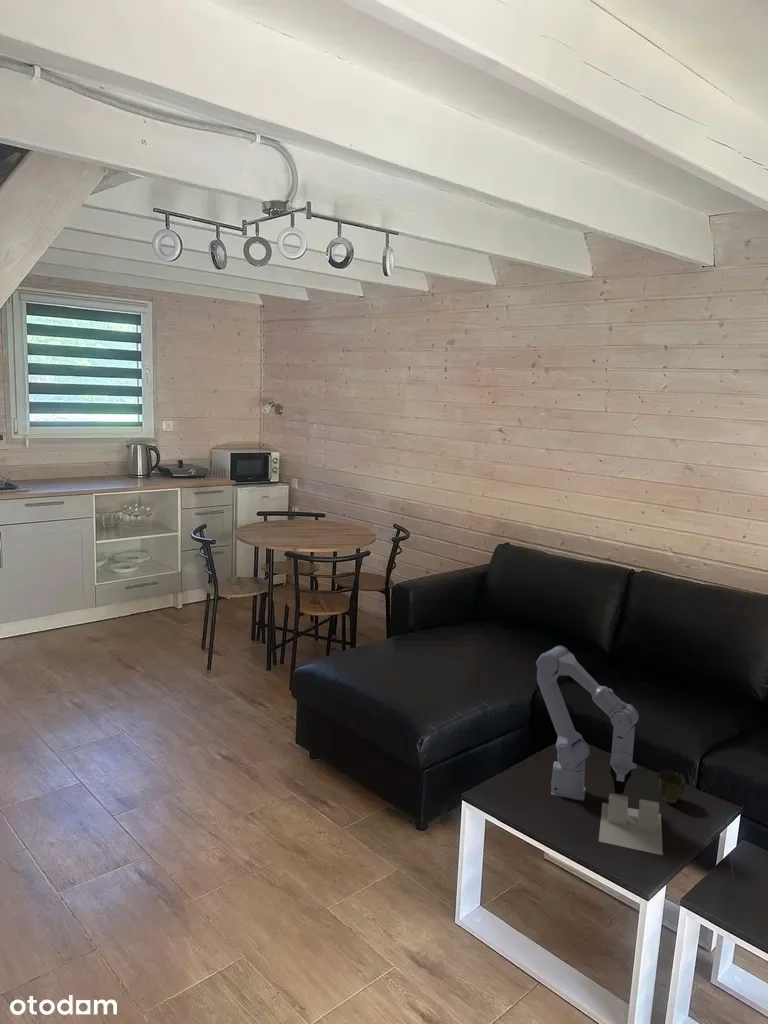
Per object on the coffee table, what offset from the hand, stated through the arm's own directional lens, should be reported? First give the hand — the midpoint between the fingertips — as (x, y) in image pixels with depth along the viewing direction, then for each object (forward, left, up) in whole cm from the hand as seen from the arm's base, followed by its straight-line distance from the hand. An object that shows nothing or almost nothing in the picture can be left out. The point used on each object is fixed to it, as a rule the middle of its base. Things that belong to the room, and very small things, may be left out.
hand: (618, 792), depth 207 cm
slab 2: (+8, -6, -5) cm, 11 cm away
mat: (+4, -8, -6) cm, 11 cm away
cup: (+14, +11, -6) cm, 19 cm away
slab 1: (0, -6, -5) cm, 8 cm away
